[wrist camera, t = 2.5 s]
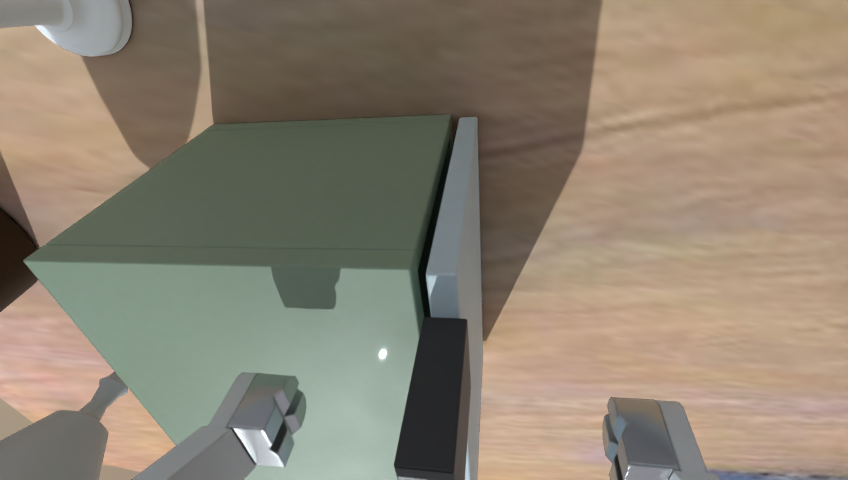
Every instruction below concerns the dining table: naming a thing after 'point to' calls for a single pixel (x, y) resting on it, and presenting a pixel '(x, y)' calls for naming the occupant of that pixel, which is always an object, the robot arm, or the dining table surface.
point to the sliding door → (449, 335)
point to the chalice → (62, 441)
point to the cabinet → (268, 278)
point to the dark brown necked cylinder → (14, 261)
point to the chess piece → (74, 22)
